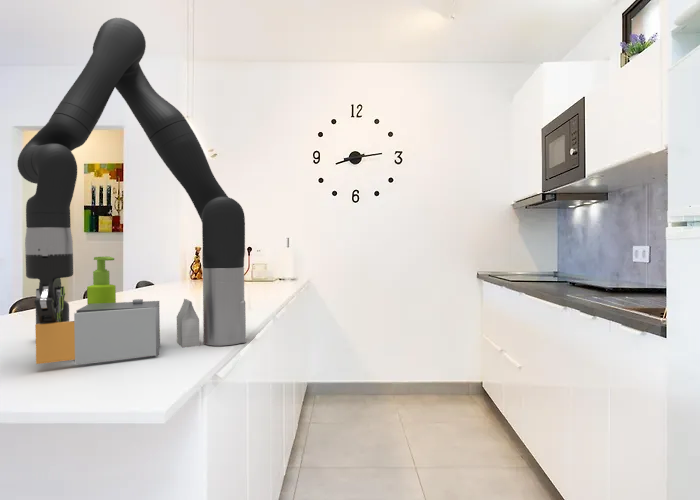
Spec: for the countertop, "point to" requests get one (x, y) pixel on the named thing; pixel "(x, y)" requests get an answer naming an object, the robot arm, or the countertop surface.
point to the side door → (99, 336)
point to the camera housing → (122, 307)
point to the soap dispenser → (101, 284)
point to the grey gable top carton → (187, 326)
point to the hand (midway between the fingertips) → (52, 343)
